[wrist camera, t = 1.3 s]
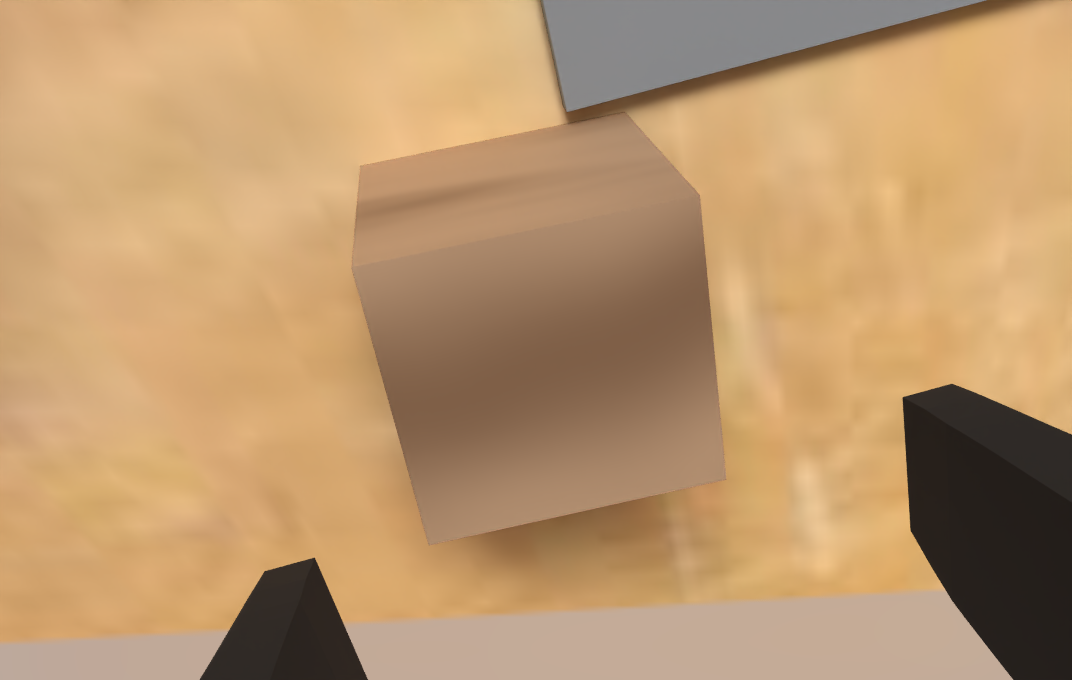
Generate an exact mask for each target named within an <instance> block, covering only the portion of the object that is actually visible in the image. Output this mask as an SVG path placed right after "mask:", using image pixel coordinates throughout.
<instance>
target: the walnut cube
mask: <svg viewBox="0 0 1072 680" xmlns="http://www.w3.org/2000/svg"><path fill="white" fill-rule="evenodd" d="M352 271H353V275H354V278H355V282H356V285H357V289H358V293H359V296H360V300H361V303H362V307H363V311H364V314H365V318H366V321H367V325H368V329H369V332H370V336H371V339H372V343H373V346H374V350H375V354H376V357H377V361H378V364H379V368H380V372H381V375H382V379H383V382H384V386H385V390H386V393H387V397H388V400H389V404H390V408H391V411H392V415H393V418H394V422H395V426H396V429H397V433H398V436H399V440H400V443H401V447H402V451H403V454H404V458H405V461H406V465H407V469H408V472H409V476H410V479H411V483H412V487H413V490H414V494H415V497H416V501H417V505H418V508H419V512H420V515H421V519H422V523H423V526H424V530H425V533H426V537H427V540H428V544H429V545H433V544H437V543H442V542H446V541H451V540H455V539H460V538H465V537H469V536H474V535H478V534H483V533H487V532H492V531H496V530H501V529H505V528H510V527H514V526H519V525H523V524H528V523H532V522H537V521H541V520H546V519H550V518H555V517H559V516H564V515H569V514H573V513H578V512H582V511H587V510H591V509H596V508H600V507H605V506H609V505H614V504H618V503H623V502H627V501H632V500H636V499H641V498H645V497H650V496H654V495H659V494H663V493H668V492H673V491H677V490H682V489H686V488H691V487H695V486H700V485H704V484H709V483H713V482H718V481H722V480H726V471H725V460H724V450H723V439H722V428H721V418H720V407H719V396H718V386H717V375H716V364H715V354H714V343H713V332H712V322H711V311H710V300H709V289H708V279H707V268H706V257H705V247H704V236H703V225H702V215H701V204H700V195H699V194H698V193H697V191H696V190H695V189H694V188H693V187H692V186H691V185H690V184H689V183H688V181H687V180H686V179H685V178H684V177H683V176H682V175H681V174H680V173H679V171H678V170H677V169H676V168H675V167H674V166H673V165H672V164H671V163H670V161H669V160H668V159H667V158H666V157H665V156H664V155H663V154H662V153H661V151H660V150H659V149H658V148H657V147H656V146H655V145H654V144H653V143H652V141H651V140H650V139H649V138H648V137H647V136H646V135H645V134H644V133H643V131H642V130H641V129H640V128H639V127H638V126H637V125H636V124H635V123H634V121H633V120H632V119H631V118H630V117H629V116H628V115H627V114H626V113H625V112H622V113H617V114H613V115H608V116H603V117H598V118H593V119H588V120H583V121H578V122H573V123H568V124H563V125H559V126H554V127H549V128H544V129H539V130H534V131H529V132H524V133H519V134H514V135H509V136H505V137H500V138H495V139H490V140H485V141H480V142H475V143H470V144H465V145H460V146H455V147H451V148H446V149H441V150H436V151H431V152H426V153H421V154H416V155H411V156H406V157H401V158H397V159H392V160H387V161H382V162H377V163H372V164H367V165H362V166H360V175H359V187H358V198H357V210H356V221H355V233H354V244H353V255H352Z"/></svg>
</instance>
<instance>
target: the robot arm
mask: <svg viewBox="0 0 1072 680" xmlns="http://www.w3.org/2000/svg"><path fill="white" fill-rule="evenodd" d="M903 412H904V429H905V445H906V462H907V478H908V495H909V512H910V528H911V532H912V534H913V535H914V537H915V539H916V541H917V542H918V544H919V546H920V548H921V549H922V551H923V553H924V555H925V556H926V558H927V560H928V562H929V563H930V565H931V567H932V568H933V570H934V572H935V573H936V575H937V577H938V578H939V580H940V582H941V583H942V585H943V587H944V588H945V590H946V591H947V593H948V595H949V596H950V598H951V600H952V601H953V602H954V604H955V605H956V606H957V608H958V609H959V610H960V612H961V613H962V614H963V616H964V617H965V618H966V620H967V621H968V622H969V623H970V625H971V626H972V627H973V629H974V630H975V631H976V632H977V634H978V635H979V636H980V638H981V639H982V640H983V642H984V643H985V644H986V645H987V647H988V648H989V649H990V651H991V652H992V653H993V654H994V656H995V657H996V658H997V659H998V661H999V662H1000V663H1001V665H1002V666H1003V667H1004V668H1005V670H1006V671H1007V672H1008V673H1009V675H1010V676H1011V677H1012V678H1013V680H1072V435H1071V434H1069V433H1067V432H1064V431H1062V430H1060V429H1057V428H1055V427H1053V426H1050V425H1048V424H1046V423H1044V422H1041V421H1039V420H1037V419H1034V418H1032V417H1030V416H1028V415H1025V414H1023V413H1021V412H1018V411H1016V410H1014V409H1012V408H1009V407H1007V406H1005V405H1002V404H1000V403H998V402H996V401H993V400H991V399H989V398H986V397H984V396H982V395H979V394H977V393H974V392H972V391H969V390H967V389H964V388H962V387H959V386H956V385H954V384H950V385H946V386H942V387H939V388H935V389H931V390H928V391H924V392H920V393H917V394H913V395H909V396H906V397H903ZM200 680H368V679H367V677H366V675H365V672H364V670H363V668H362V665H361V663H360V661H359V658H358V656H357V654H356V652H355V649H354V647H353V645H352V642H351V640H350V638H349V636H348V633H347V631H346V629H345V626H344V624H343V622H342V619H341V617H340V615H339V612H338V610H337V608H336V606H335V603H334V601H333V599H332V596H331V594H330V592H329V589H328V587H327V585H326V583H325V580H324V578H323V576H322V573H321V571H320V569H319V566H318V564H317V562H316V560H315V558H312V559H308V560H305V561H301V562H297V563H294V564H290V565H286V566H283V567H279V568H275V569H272V570H268V571H265V572H264V573H263V575H262V577H261V578H260V580H259V581H258V583H257V585H256V586H255V588H254V590H253V591H252V593H251V594H250V596H249V598H248V599H247V601H246V603H245V604H244V606H243V608H242V609H241V611H240V613H239V615H238V616H237V618H236V620H235V621H234V623H233V625H232V626H231V628H230V630H229V632H228V633H227V635H226V637H225V638H224V640H223V642H222V644H221V645H220V647H219V648H218V650H217V652H216V654H215V656H214V657H213V659H212V660H211V662H210V664H209V665H208V667H207V669H206V670H205V672H204V674H203V675H202V677H201V678H200Z"/></svg>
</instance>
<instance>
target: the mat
mask: <svg viewBox="0 0 1072 680" xmlns="http://www.w3.org/2000/svg"><path fill="white" fill-rule="evenodd" d="M540 1H541V5H542V10H543V14H544V19H545V23H546V28H547V33H548V37H549V42H550V46H551V51H552V56H553V60H554V65H555V69H556V74H557V79H558V83H559V88H560V92H561V97H562V101H563V106H564V108H565V110H566V111H567V112H569V111H573V110H577V109H580V108H584V107H588V106H592V105H595V104H599V103H603V102H607V101H610V100H614V99H618V98H622V97H625V96H629V95H633V94H637V93H640V92H644V91H648V90H652V89H655V88H659V87H663V86H667V85H670V84H674V83H678V82H682V81H685V80H689V79H693V78H697V77H700V76H704V75H708V74H712V73H715V72H719V71H723V70H727V69H730V68H734V67H738V66H742V65H745V64H749V63H753V62H757V61H760V60H764V59H768V58H772V57H775V56H779V55H783V54H787V53H790V52H794V51H798V50H802V49H805V48H809V47H813V46H817V45H820V44H824V43H828V42H832V41H835V40H839V39H843V38H847V37H850V36H854V35H858V34H862V33H865V32H869V31H873V30H877V29H880V28H884V27H888V26H892V25H895V24H899V23H903V22H907V21H910V20H914V19H918V18H922V17H925V16H929V15H933V14H937V13H940V12H944V11H948V10H952V9H955V8H959V7H963V6H967V5H970V4H974V3H978V2H982V1H985V0H540Z"/></svg>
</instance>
